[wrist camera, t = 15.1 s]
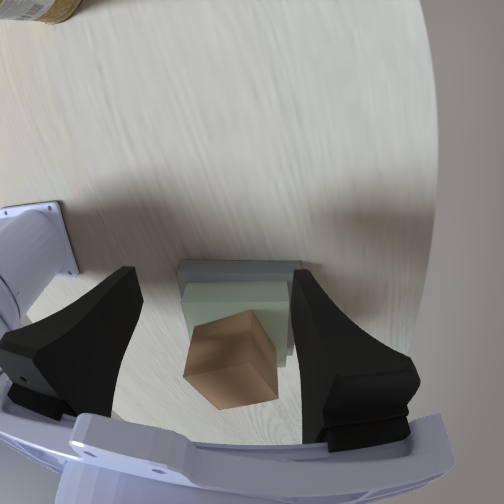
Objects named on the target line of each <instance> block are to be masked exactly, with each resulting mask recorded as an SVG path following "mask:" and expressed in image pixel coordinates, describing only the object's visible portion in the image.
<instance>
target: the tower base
mask: <svg viewBox="0 0 504 504" xmlns="http://www.w3.org/2000/svg"><path fill="white" fill-rule="evenodd" d="M294 269H302V265H301V261H254V260H181V263H180V265H179V267H178V270H177V277H178V283H179V288H180V294H181V299H182V297H183V294H184V290H185V287H186V284H187V282H258V281H287V287H288V295H289V316H288V335H287V352H286V355H293V349H294V342H295V341H294V336H293V330H292V324H291V309H290V303H291V294H292V284H293V273H294ZM188 334H189V333H188ZM189 338H190V337H189ZM190 342H191V340H190Z"/></svg>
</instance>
